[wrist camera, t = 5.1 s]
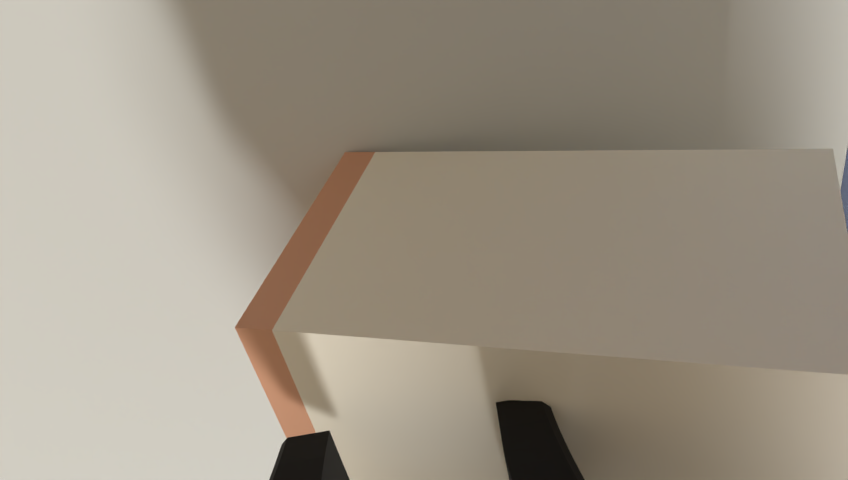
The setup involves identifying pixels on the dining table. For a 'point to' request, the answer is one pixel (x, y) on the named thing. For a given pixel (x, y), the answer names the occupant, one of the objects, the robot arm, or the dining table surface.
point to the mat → (305, 173)
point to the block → (566, 312)
